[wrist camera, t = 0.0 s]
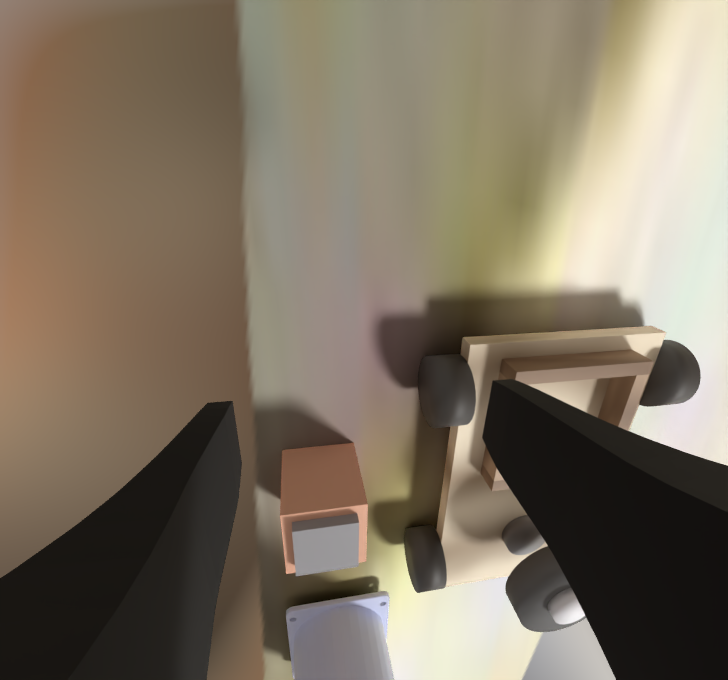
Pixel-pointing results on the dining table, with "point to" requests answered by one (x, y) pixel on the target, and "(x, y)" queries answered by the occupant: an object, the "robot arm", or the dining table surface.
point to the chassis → (470, 455)
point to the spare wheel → (542, 594)
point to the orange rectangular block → (322, 509)
